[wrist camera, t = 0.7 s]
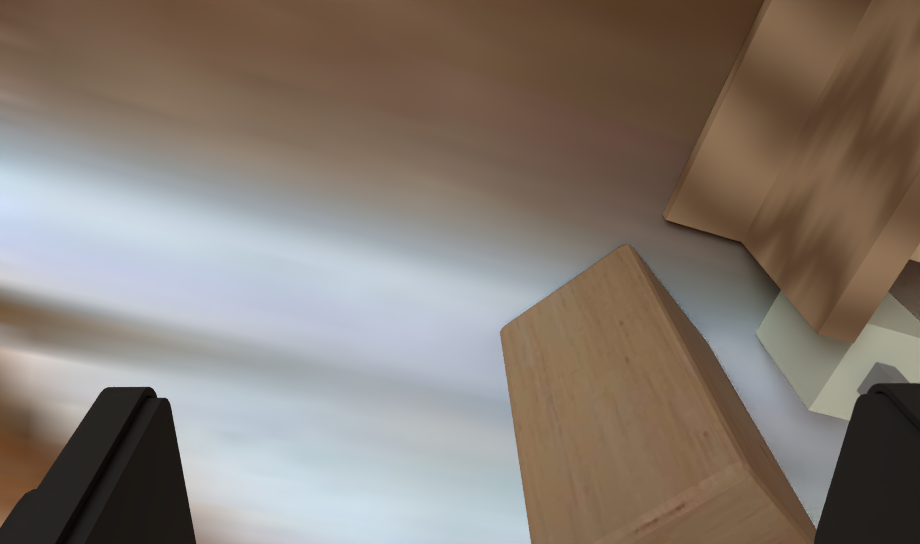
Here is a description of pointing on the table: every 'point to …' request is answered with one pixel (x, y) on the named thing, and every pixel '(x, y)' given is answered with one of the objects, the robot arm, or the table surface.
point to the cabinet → (842, 355)
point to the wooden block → (636, 423)
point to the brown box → (817, 155)
